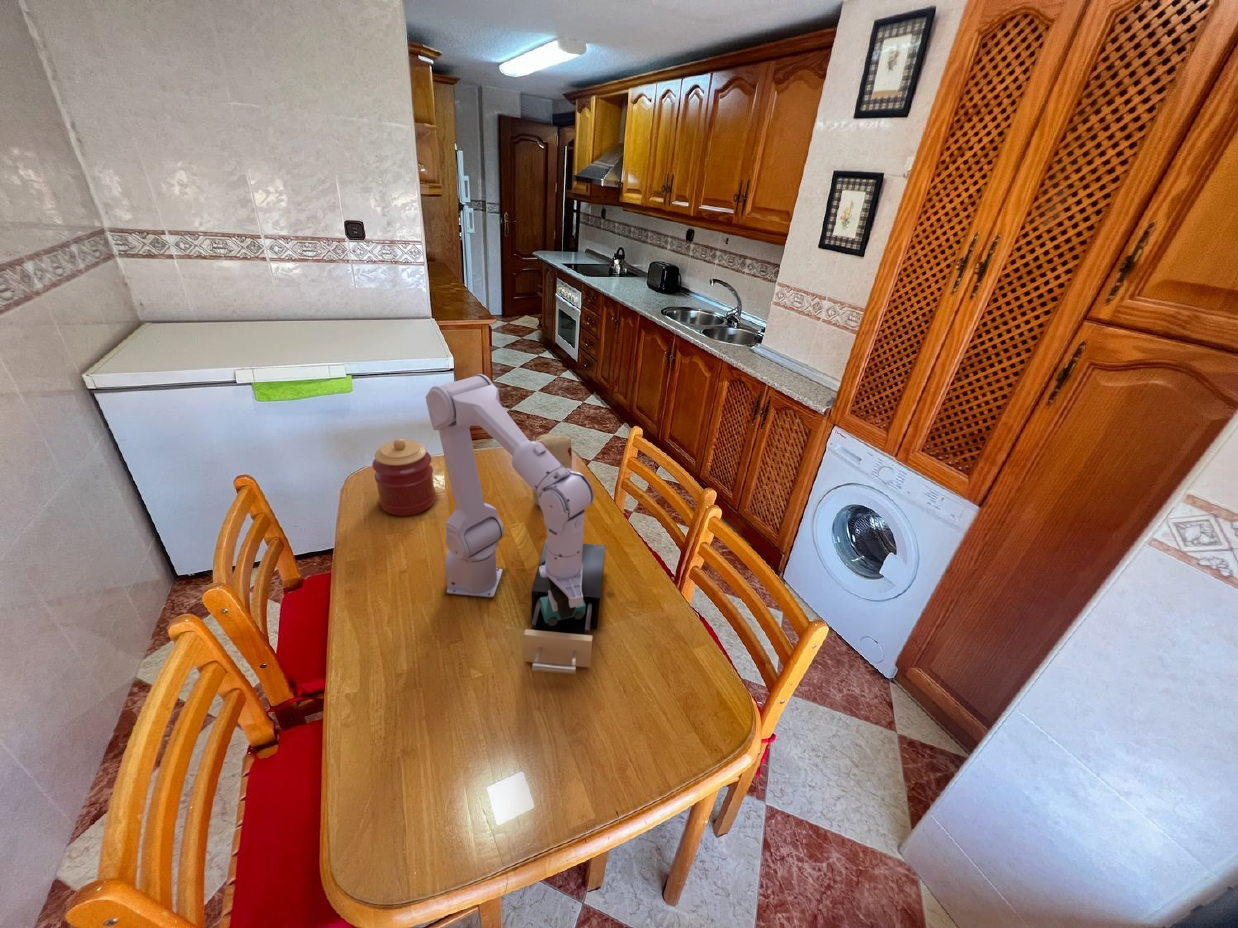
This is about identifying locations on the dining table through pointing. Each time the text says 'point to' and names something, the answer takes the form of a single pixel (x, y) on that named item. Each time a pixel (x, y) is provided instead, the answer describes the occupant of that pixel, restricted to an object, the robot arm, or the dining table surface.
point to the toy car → (556, 610)
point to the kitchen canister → (404, 477)
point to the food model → (556, 452)
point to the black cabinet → (590, 577)
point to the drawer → (559, 642)
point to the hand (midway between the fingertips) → (562, 606)
